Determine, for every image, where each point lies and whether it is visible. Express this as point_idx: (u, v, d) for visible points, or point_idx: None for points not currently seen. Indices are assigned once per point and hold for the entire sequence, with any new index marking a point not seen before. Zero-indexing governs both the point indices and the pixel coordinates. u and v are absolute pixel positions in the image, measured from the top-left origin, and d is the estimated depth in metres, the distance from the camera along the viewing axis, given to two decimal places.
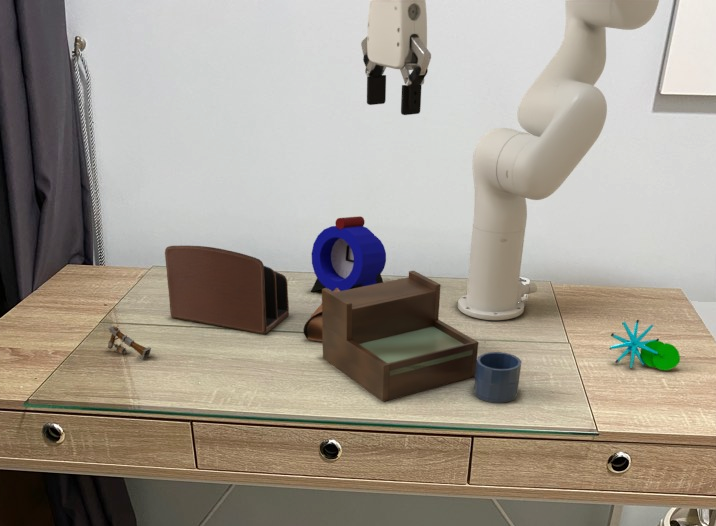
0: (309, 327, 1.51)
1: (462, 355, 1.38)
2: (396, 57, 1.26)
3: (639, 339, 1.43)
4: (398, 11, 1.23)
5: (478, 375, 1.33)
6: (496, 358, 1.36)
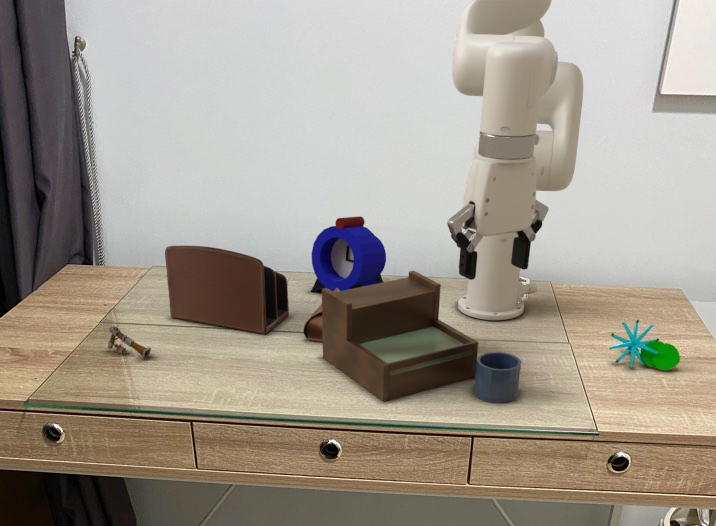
0: (309, 327, 1.51)
1: (462, 355, 1.38)
2: (528, 219, 1.23)
3: (639, 339, 1.43)
4: (534, 176, 1.20)
5: (478, 375, 1.33)
6: (496, 358, 1.36)
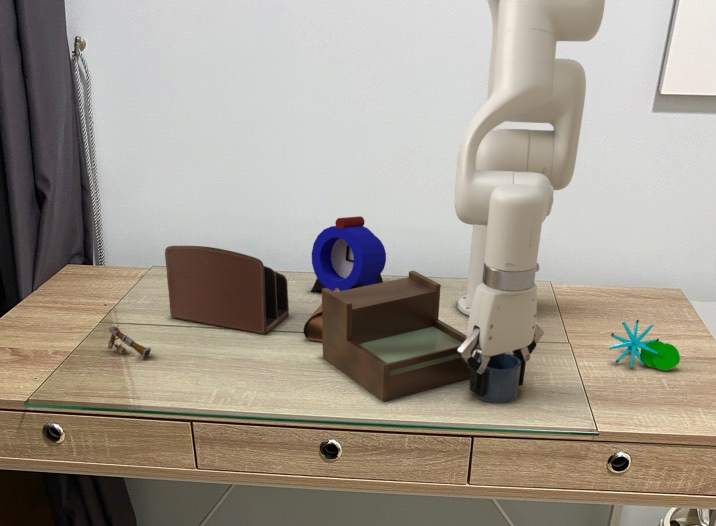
0: (309, 327, 1.51)
1: None
2: (529, 338, 1.31)
3: (639, 339, 1.43)
4: (535, 300, 1.28)
5: None
6: (495, 358, 1.36)
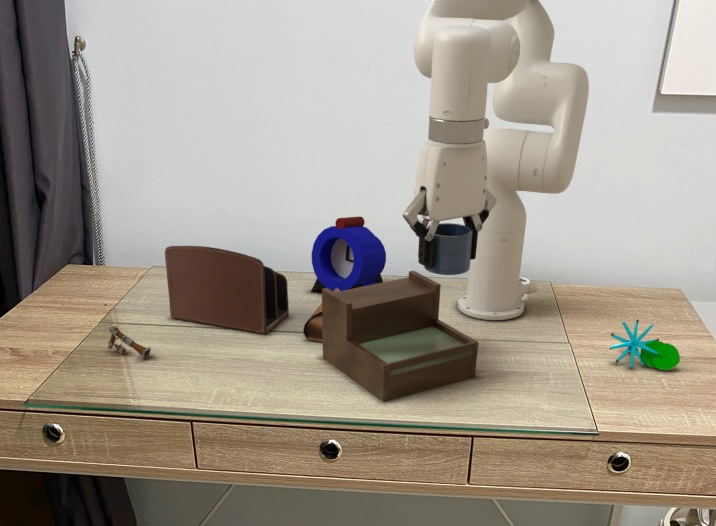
0: (309, 327, 1.51)
1: (462, 355, 1.38)
2: (480, 203, 1.24)
3: (639, 339, 1.43)
4: (485, 160, 1.20)
5: None
6: (446, 229, 1.29)
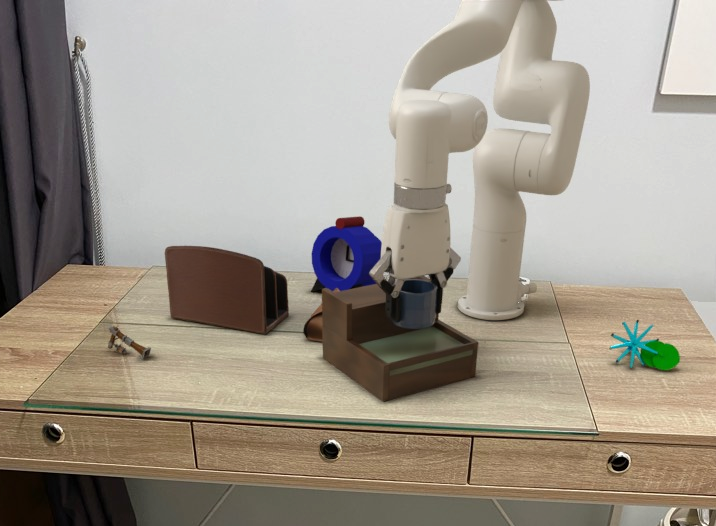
0: (309, 327, 1.51)
1: (462, 355, 1.38)
2: (444, 262, 1.31)
3: (639, 339, 1.43)
4: (448, 222, 1.27)
5: None
6: (413, 285, 1.35)
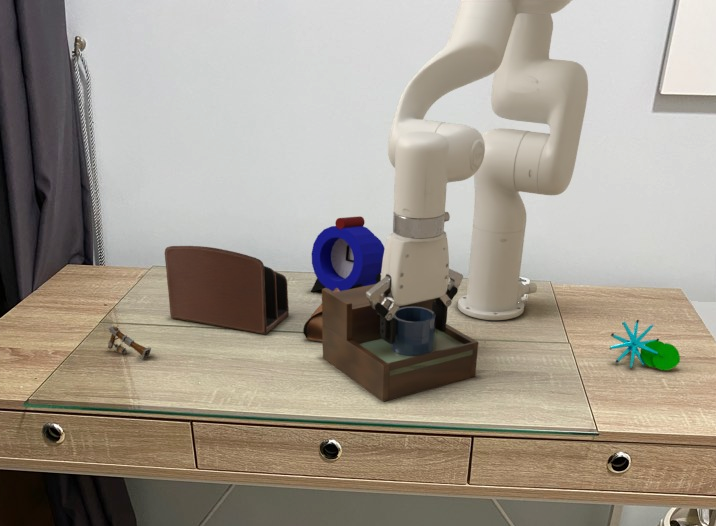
0: (309, 327, 1.51)
1: (462, 355, 1.38)
2: (443, 288, 1.33)
3: (639, 339, 1.43)
4: (446, 250, 1.30)
5: None
6: (412, 312, 1.38)
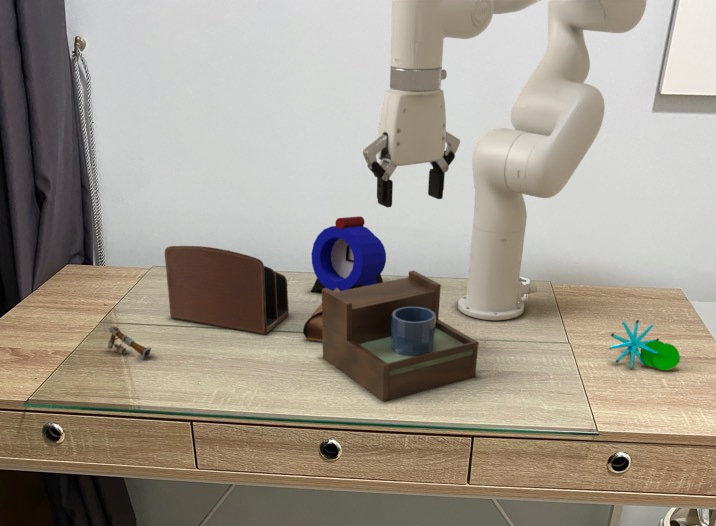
0: (309, 327, 1.51)
1: (462, 355, 1.38)
2: (440, 150, 1.33)
3: (639, 339, 1.43)
4: (443, 108, 1.30)
5: (393, 328, 1.35)
6: (412, 312, 1.38)
